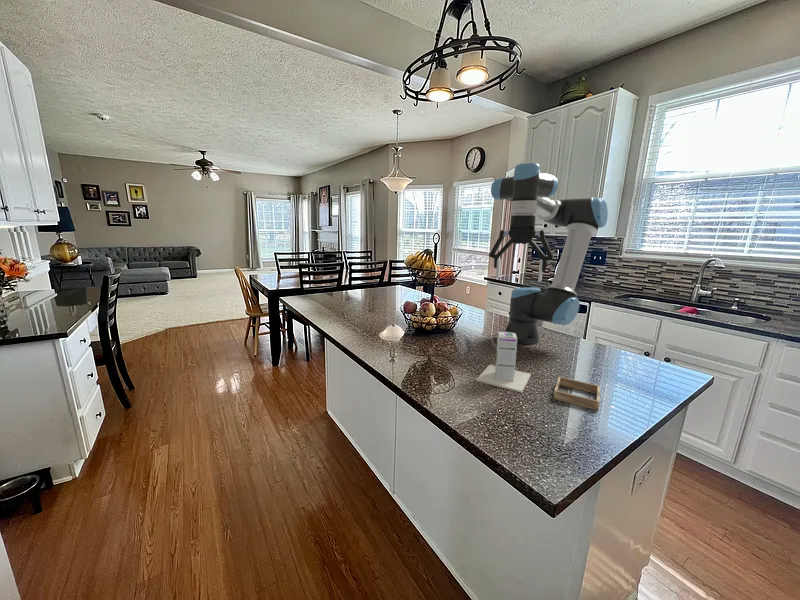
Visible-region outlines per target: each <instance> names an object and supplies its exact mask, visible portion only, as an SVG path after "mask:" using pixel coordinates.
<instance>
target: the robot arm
mask: <svg viewBox="0 0 800 600" xmlns="http://www.w3.org/2000/svg"><path fill="white" fill-rule="evenodd" d="M558 188H559V181H558V178H557V177H556V176H555V175H553V174H550V173H543V172H541V169H540V164H539V163H536V162H526V163H524V162H523V163H520V164H517V165H516V166H515V167H514V172H513V176H509V177H508V176H507V177H501V178H497V179H495V180H494V181H492V184H491V188H490V194H491V197H492V198H493V199H494V200H498V201H502V200H505V201H508V202H510V203H511V214H512V216H510V228H509V230H505V229H501V230H500V231H499V235H498V238H497V240H496V241H495V244H494V245H493V248H492V249H491V250H490V252H489V254H488V257H490V258H492V259H493V267H494V269H496V273H495V274H496V276H495V279H500V278H501V272H502V271H501V269H502V258H500V257H501V256H502V255H504V253H505V252H506V251H507V250H508V249H509V248H510V247H511V246H512V245H513V244H516V245H519V244H522V245H528V244H529V246H530V247H531V248H532V250H534V252H535V253H536V254H537V255H538V257H539V258H540V261H539V266H538V277H537V278H538V280H537V282H541V281H542V280H543V278H542V277H543V272H546V270H547V264H548V261H551V260H553V259H554V254H553V252H552V250H551V247H550V245H549V243H548V241H547V239H546V231H545V230H544V229H540V230H536V229H535V228H536V216H537V218H538V219H539V220H542V221H543V222H546V223H548V224H550V225H553V226H556V227H561V228H562V227H563V228H566V230H567V232H568V233H567V237H566V239H565V242H564V247H563V249H562V253H561V255H560V258H559V261H558V264H557V268H556V270H555V274H554V277H553V279H552V283H551V284H550V285H548V286H547V287H546V288H545V290H544V291H545V292H542V290H541V288H540V287H534V286H533V287H532V286H531V287H517V288H514V289H512V291H511V295H510V304H509V315H508V322H507V324H506V326H505V328H504V330H503V332H512V333H516V336H517V344H520V345H521V344H522V345H535V344H538V343H539V342H540V333H539V328H538V325H537V323H538V321H541V322H547V323H551V324H554V325H561V326H569V325H570V324H571V323H573V322H574V320H575V319H576V318H577V315H578V314H579V311H580V310H579V309H580V303H581V302H580V300H579V298H577V296H578V294H577V293H576V291H575V289H576V286H577V283H578V279H579V277H580V273H581V270H582V267H583V264H584V261H585V257H586V254H587V253H588V252H587V251H588V249H589V244H590V243H591V239H592V236H595V235H596V234H597V233H598V230H599V228H600V229H601V228H604V227H605V226H606V224H607V221H608V217H609V213H608V204H607V202H606V201H605V199H604V198H602V197H591V198H588V197H587V198H571V199H570V198H569V199H568V198H566V199H564V198H563V199H555V198H553V197H552V196H553V195H554V194H556V192H557V190H558ZM535 215H536V216H535ZM507 236H509V238H510V239H509V240H508V241H507V242H506V243H505V244H504V246H503V247H502V248H500V245H501V244H502V242H503V241H504V238H506V237H507ZM535 236H537V238H539V239H540V241H541V244H542V247H543V248H544V250H545V253H546V254H545V253H544V252H543V251H542V250H541V248H540V247H539V246H538V244H537V243H536V241H535V240H534V239H533V238H534V237H535ZM499 248H500V249H499ZM498 250H499V251H498ZM497 251H498V252H497ZM546 255H547V256H546Z"/></svg>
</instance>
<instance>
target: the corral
mask: <svg viewBox="0 0 800 600" xmlns="http://www.w3.org/2000/svg"><path fill="white" fill-rule="evenodd" d="M560 386H563V387H566V388H571V389H575V390H579V391H584V392H588V393H591V394H592V393H593V394H595V395H596V397H595V399H592V398H588V397H584V396H581V395H577V394H572V393H569V392H565V391H561V390H559V388H560ZM600 395H601V385H599V384H593V383H589V382H585V381H581V380H575V379H571V378H567V377H561V376H558V377H557V381H556V384H555V388H554V390H553V397H552V398H553V400H557V401H561V402H564V403H569V404H572V405H576V406H581V407H584V408H588V409H591V410H595V411H599V407H600V401H601V400H600V399H601V396H600Z"/></svg>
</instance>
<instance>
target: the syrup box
mask: <svg viewBox="0 0 800 600" xmlns="http://www.w3.org/2000/svg"><path fill="white" fill-rule="evenodd" d="M496 339H497V341H496V352H495V353H496V355H495V365H494V366H495V375H496V379H500V380H508V381H514V374H515V370H516V362H517V361H516V360H517V347H518V343H517V336H516V333H512V332H504V331H498V332H497V338H496Z"/></svg>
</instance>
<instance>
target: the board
mask: <svg viewBox="0 0 800 600" xmlns="http://www.w3.org/2000/svg"><path fill="white" fill-rule="evenodd" d="M495 366H496V365H493V364H488V366H487V367H486V368H485V369H484V370H483V372H482V373H480V375H478V377H477V378H476V382H479V383H484V384H485V385H486V384H487V385H489V386H495V387H498V388H502V389H506V390H510V391H513V392H518V393H521V394H522V393H523V392H524V390H525V388H526V385H528V382H529V380H530V377H531V375H532V374H531V373H528V372H524V371H521V370H516V369H515V374H514V381H508V380H500V379H496V375H495Z"/></svg>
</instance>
